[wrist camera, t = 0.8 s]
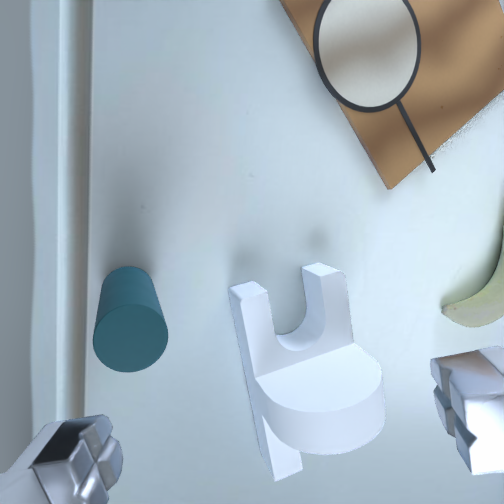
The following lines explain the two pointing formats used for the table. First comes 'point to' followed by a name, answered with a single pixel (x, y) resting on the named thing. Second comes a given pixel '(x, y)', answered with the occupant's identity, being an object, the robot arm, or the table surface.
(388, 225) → the table surface
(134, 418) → the table surface
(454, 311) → the fruit
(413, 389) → the table surface
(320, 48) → the brown flat square board
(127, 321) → the teal cylinder
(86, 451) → the robot arm
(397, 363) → the table surface
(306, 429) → the block with arch cutout
